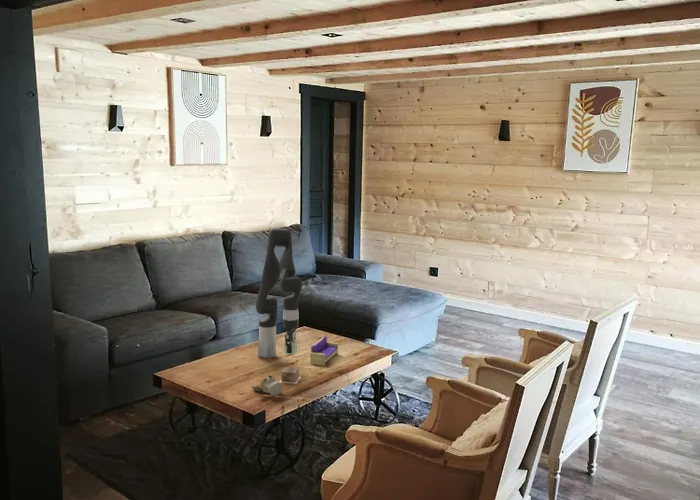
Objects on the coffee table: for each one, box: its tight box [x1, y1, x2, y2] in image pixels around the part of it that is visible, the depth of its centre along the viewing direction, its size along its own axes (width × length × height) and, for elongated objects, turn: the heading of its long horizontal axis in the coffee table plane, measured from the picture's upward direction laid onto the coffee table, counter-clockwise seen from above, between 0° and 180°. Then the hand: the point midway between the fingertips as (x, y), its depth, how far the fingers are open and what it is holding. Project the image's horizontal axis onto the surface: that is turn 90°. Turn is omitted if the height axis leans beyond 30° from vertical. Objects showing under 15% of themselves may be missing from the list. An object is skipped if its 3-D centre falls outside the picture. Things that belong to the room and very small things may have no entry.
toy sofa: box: [309, 335, 339, 367], centre depth 332 cm, size 21×9×10 cm, turn 160°
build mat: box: [278, 376, 301, 385], centre depth 300 cm, size 12×12×1 cm
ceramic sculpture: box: [251, 375, 283, 397], centre depth 284 cm, size 11×9×15 cm
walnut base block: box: [280, 366, 300, 384], centre depth 299 cm, size 7×7×5 cm
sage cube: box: [283, 340, 298, 355], centre depth 297 cm, size 5×5×5 cm
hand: (290, 351), depth 297 cm, fingers closed on sage cube, 5 cm apart
